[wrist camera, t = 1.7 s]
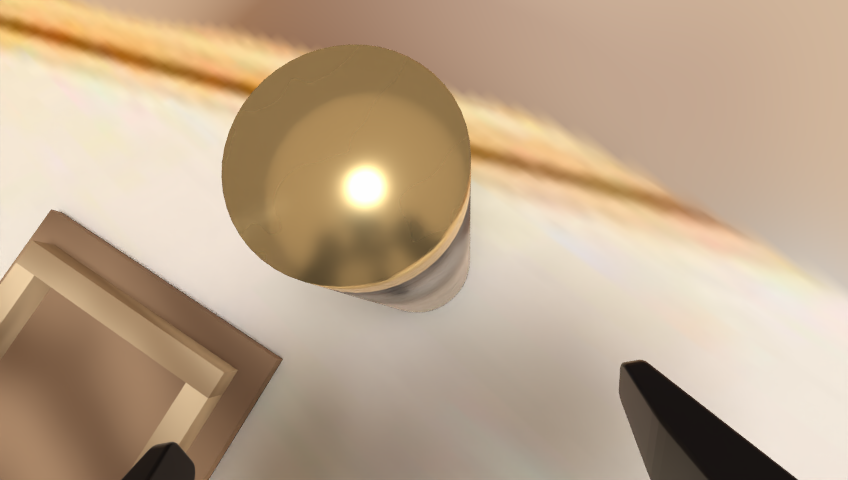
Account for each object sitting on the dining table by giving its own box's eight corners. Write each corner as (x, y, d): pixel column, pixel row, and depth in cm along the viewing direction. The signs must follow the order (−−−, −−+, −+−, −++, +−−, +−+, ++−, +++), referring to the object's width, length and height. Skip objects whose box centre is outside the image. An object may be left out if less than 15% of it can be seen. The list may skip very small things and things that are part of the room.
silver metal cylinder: (435, 332, 21) (383, 336, 8) (346, 278, 22) (174, 206, 9) (489, 240, 21) (517, 110, 9) (400, 191, 22) (308, 7, 10)
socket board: (101, 652, 20) (65, 684, 18) (-116, 462, 22) (-166, 474, 20) (282, 359, 21) (265, 361, 19) (61, 212, 24) (28, 202, 22)
